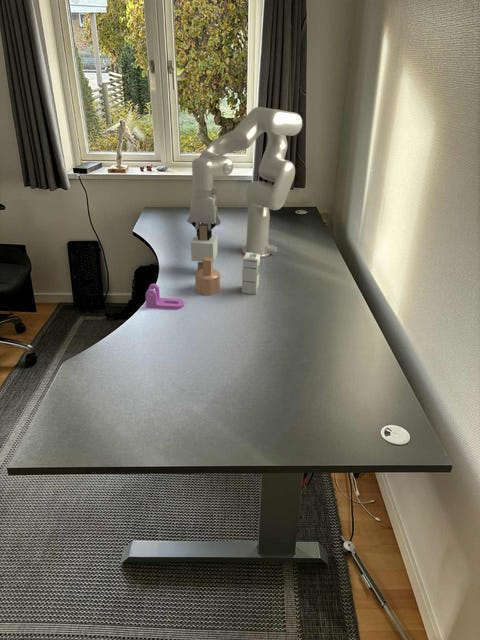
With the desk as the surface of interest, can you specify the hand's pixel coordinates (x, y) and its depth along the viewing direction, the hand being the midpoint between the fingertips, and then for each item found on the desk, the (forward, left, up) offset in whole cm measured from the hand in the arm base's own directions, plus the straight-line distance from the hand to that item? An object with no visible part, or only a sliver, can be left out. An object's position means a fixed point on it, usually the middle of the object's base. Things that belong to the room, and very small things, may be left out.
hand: (204, 238), depth 192 cm
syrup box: (-21, +12, -15) cm, 28 cm away
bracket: (+8, +30, -15) cm, 34 cm away
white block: (0, 0, -8) cm, 8 cm away
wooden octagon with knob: (-5, +15, -15) cm, 21 cm away
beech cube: (0, +1, -15) cm, 15 cm away
